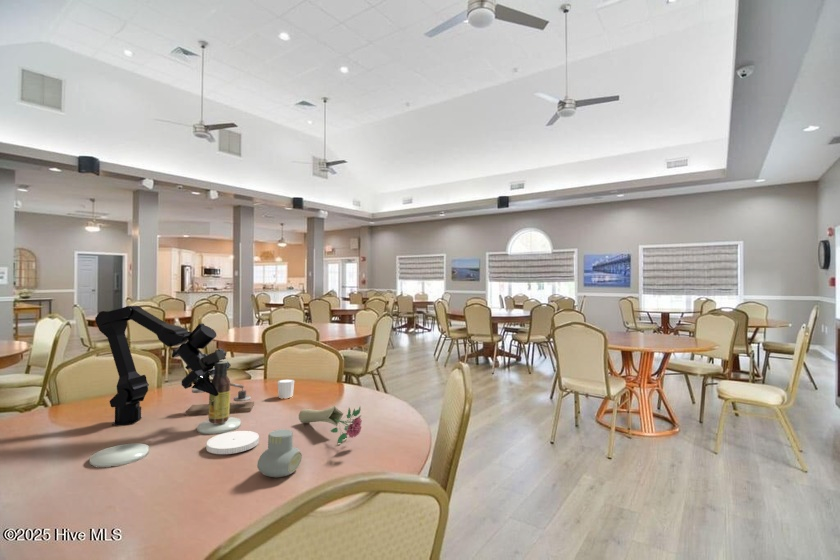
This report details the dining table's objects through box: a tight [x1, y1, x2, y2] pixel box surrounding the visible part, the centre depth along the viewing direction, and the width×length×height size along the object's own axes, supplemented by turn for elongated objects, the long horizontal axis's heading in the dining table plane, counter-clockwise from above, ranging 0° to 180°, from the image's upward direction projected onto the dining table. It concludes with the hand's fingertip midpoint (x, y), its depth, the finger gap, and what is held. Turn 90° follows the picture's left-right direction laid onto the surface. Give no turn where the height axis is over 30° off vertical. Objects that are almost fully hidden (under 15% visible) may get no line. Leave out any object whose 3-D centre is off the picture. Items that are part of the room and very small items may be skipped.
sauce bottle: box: [208, 360, 231, 423], centre depth 135 cm, size 6×6×20 cm
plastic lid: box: [205, 430, 260, 455], centre depth 119 cm, size 14×14×2 cm
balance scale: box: [185, 378, 255, 416], centre depth 153 cm, size 22×8×13 cm, turn 103°
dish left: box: [89, 442, 150, 468], centre depth 111 cm, size 13×13×1 cm
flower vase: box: [298, 405, 362, 444], centre depth 127 cm, size 12×12×35 cm
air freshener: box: [256, 428, 303, 478], centre depth 103 cm, size 11×8×10 cm
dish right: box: [196, 416, 242, 435], centre depth 135 cm, size 13×13×1 cm
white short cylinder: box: [277, 378, 295, 399], centre depth 172 cm, size 7×7×7 cm
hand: (223, 392), depth 135 cm, fingers closed on sauce bottle, 6 cm apart
